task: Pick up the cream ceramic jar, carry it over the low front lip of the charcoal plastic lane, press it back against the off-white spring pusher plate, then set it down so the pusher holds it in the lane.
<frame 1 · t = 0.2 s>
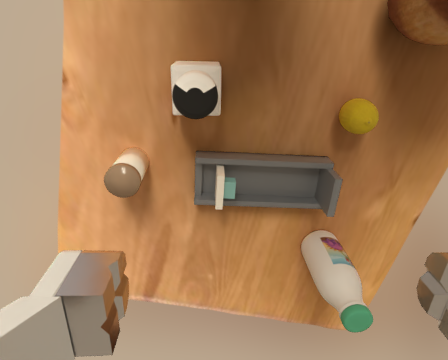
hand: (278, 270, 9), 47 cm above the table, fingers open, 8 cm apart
jar: (134, 161, 57), on the table
lemon: (347, 110, 55), on the table
medicine bottle: (198, 84, 53), on the table
pusher: (225, 184, 55), point 4 cm above the table, slide at 0.0 cm
milk bottle: (318, 243, 67), on the table
lane: (259, 176, 60), on the table
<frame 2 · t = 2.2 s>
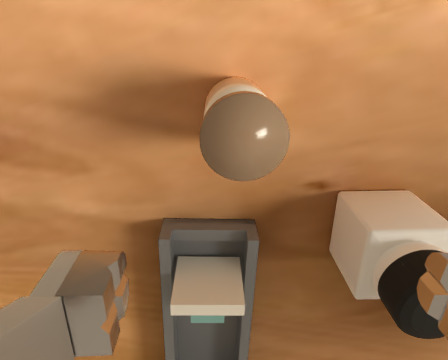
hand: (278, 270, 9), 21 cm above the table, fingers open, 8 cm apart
jar: (235, 108, 27), on the table
medicine bottle: (366, 219, 33), on the table
pusher: (208, 291, 30), point 4 cm above the table, slide at 0.0 cm
lane: (207, 308, 37), on the table
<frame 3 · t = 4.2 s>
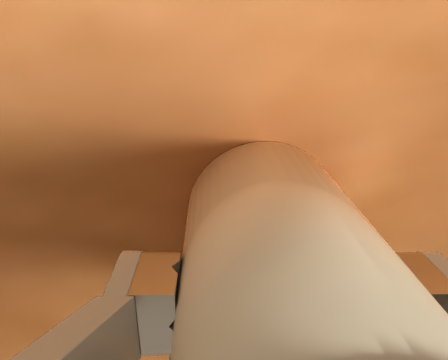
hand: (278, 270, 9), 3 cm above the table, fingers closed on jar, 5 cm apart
jar: (261, 210, 11), on the table, touching gripper
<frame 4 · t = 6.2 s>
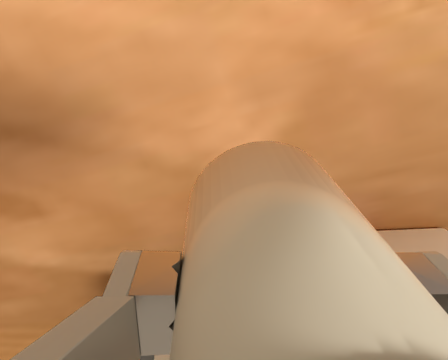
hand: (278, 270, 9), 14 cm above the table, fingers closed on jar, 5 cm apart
jar: (261, 210, 11), point 11 cm above the table, touching gripper
medicine bottle: (390, 262, 27), on the table
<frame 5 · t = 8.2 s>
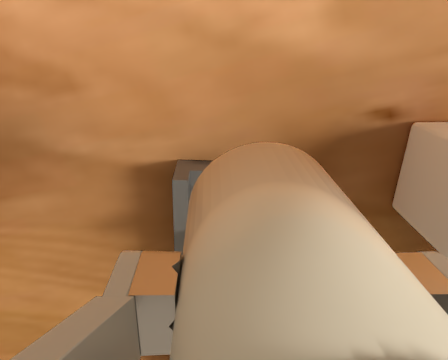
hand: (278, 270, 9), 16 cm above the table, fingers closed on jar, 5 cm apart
jar: (261, 211, 11), point 12 cm above the table, touching gripper
medicine bottle: (443, 165, 25), on the table
lane: (230, 284, 29), on the table
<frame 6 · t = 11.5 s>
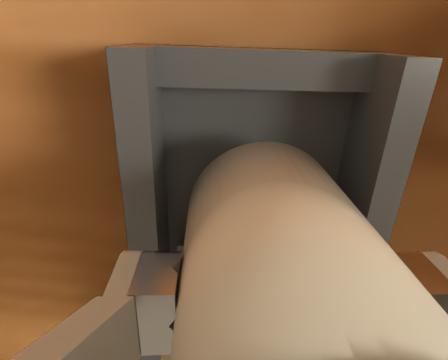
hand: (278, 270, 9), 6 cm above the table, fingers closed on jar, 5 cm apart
jar: (261, 211, 11), point 3 cm above the table, touching gripper, pusher
pusher: (256, 333, 12), point 4 cm above the table, slide at 4.2 cm, touching jar
lane: (241, 296, 17), on the table
when the fingers open (5 cm above the table, at t = 12.4 s): jar moves 1 cm, resting on lane, pusher.
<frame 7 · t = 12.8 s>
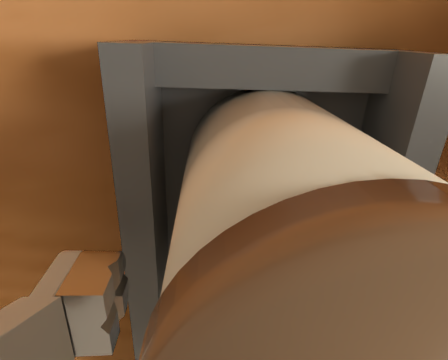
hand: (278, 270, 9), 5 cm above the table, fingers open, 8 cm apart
jar: (261, 161, 11), point 1 cm above the table, touching lane, pusher
lane: (245, 308, 16), on the table
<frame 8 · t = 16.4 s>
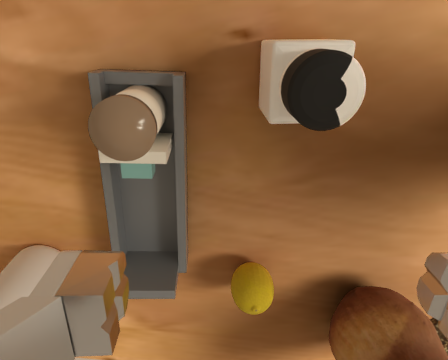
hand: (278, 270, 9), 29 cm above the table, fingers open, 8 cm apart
jar: (143, 108, 34), point 1 cm above the table, touching lane, pusher
lemon: (248, 265, 45), on the table
medicine bottle: (291, 75, 35), on the table
pusher: (140, 155, 33), point 4 cm above the table, slide at 2.7 cm, touching jar
butternut squash: (361, 302, 49), on the table
milk bottle: (46, 265, 44), on the table
lane: (149, 174, 39), on the table
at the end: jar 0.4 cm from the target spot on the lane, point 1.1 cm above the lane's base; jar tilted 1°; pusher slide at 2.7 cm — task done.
